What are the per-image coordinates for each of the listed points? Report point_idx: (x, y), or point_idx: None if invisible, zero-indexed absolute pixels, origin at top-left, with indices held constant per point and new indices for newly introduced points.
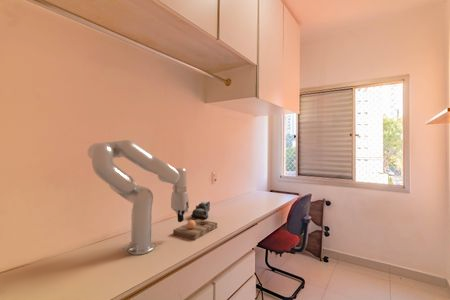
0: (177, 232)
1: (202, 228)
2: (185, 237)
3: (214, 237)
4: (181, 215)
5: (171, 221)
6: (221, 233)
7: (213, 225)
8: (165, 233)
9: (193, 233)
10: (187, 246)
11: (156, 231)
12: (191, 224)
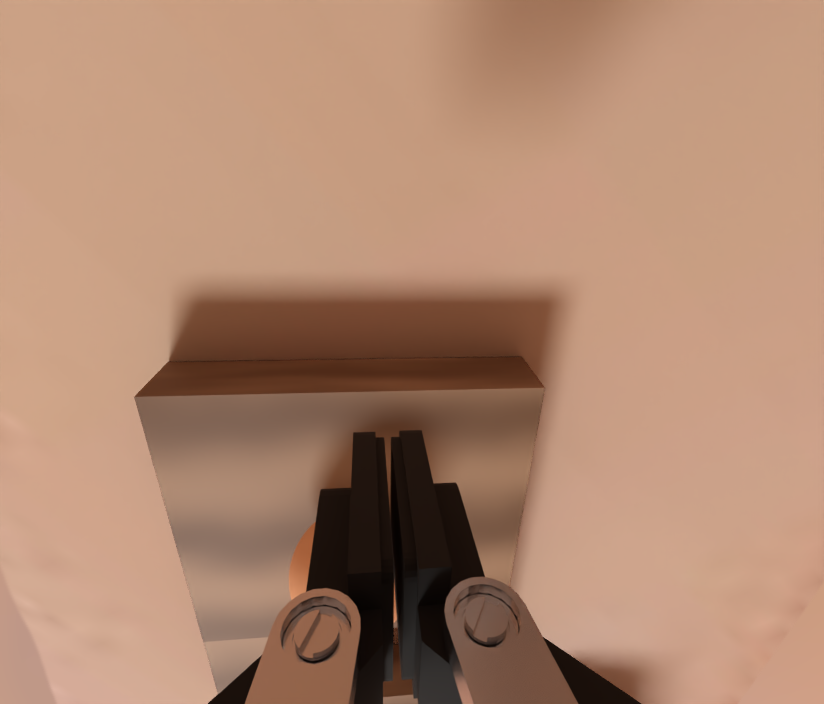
0: (461, 377)
1: (236, 583)
2: (320, 361)
3: (54, 522)
4: (306, 600)
5: (747, 587)
6: (90, 616)
7: (219, 686)
8: (635, 338)
9: (191, 423)
10: (66, 149)
11: (776, 329)
12: (307, 557)
